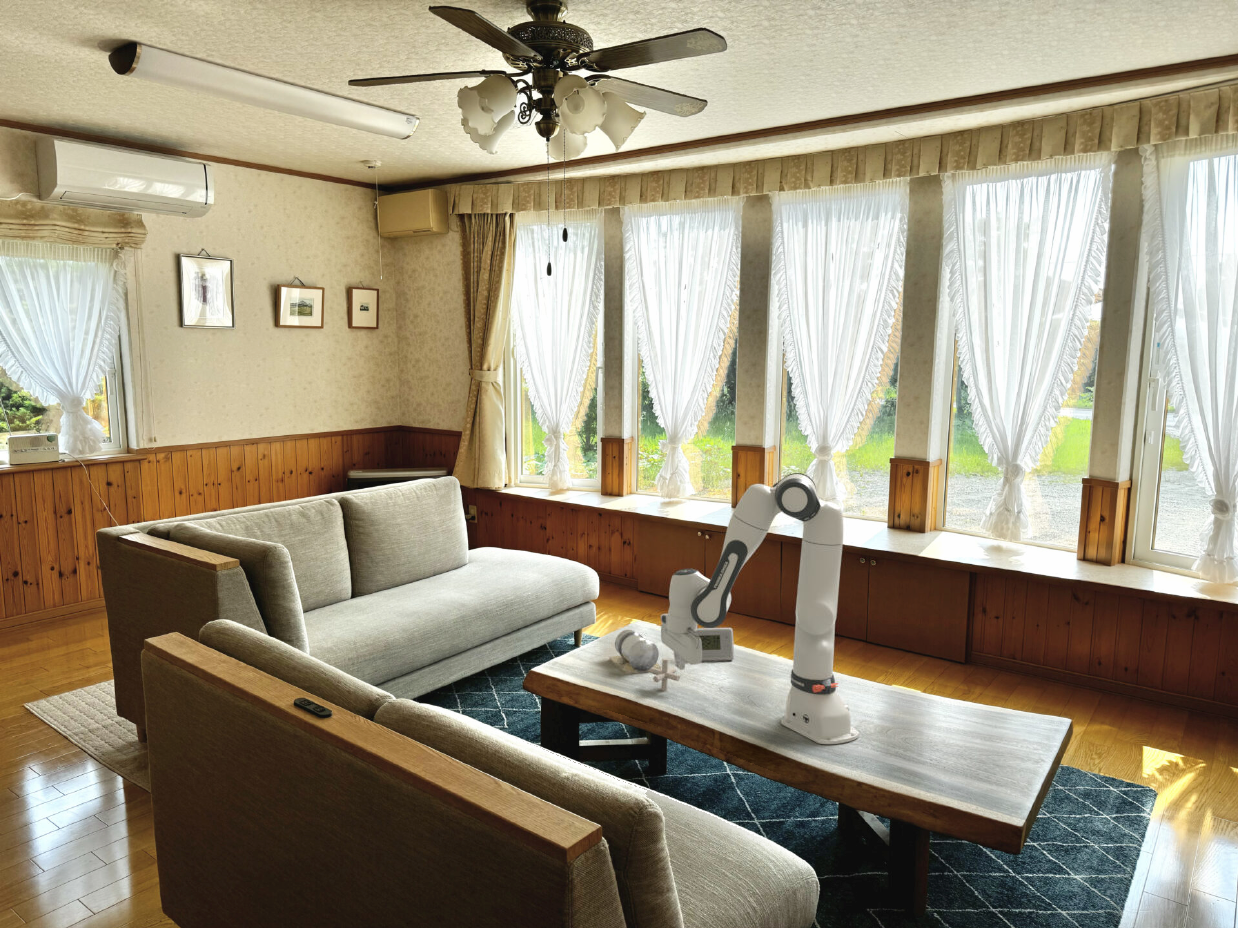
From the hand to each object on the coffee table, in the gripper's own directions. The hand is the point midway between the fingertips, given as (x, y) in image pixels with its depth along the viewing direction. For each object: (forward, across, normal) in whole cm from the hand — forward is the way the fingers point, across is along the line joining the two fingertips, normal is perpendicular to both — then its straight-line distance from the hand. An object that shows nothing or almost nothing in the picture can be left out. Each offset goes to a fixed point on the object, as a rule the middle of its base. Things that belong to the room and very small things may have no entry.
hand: (679, 667), depth 249 cm
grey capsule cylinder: (+12, +33, -1) cm, 35 cm away
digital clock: (+11, +29, -27) cm, 42 cm away
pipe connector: (+11, +10, -1) cm, 16 cm away
